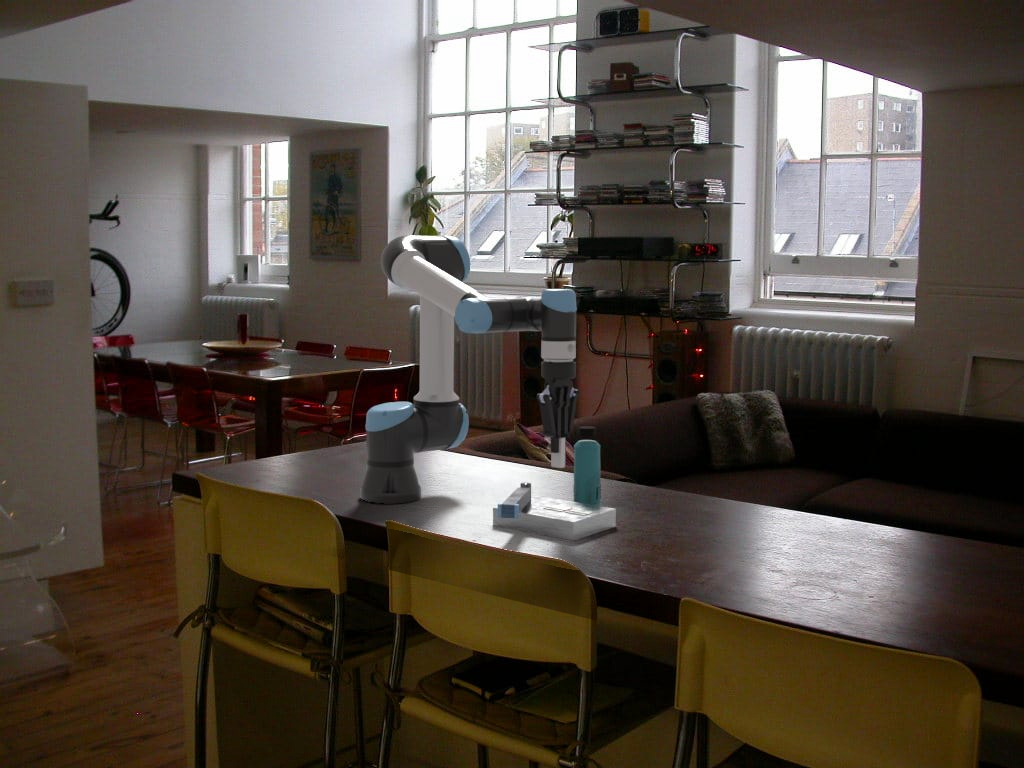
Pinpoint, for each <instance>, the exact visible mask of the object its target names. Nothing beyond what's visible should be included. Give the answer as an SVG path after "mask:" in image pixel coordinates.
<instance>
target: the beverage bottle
mask: <svg viewBox="0 0 1024 768" xmlns="http://www.w3.org/2000/svg"><path fill="white" fill-rule="evenodd" d="M596 432H597V430H596V426H588V425H587V426H585V425H583V426H579V427H578V434H577V436H578V437H583V438H592V437H597V436H596V435H597V433H596ZM573 448H574V449H573V450H574V451H573V459H574V460H573V501H572V502H578V503H584V504H590V505H596V506H601V502H602V500H601V499H602V495H601V494H602V490H601V489H602V485H601V482H602V480H601V476H602V475H601V469H602V467H601V444H600V443H599V442H598V441H597V440H592V439H581V440H578V441H577V442H575V444H574V445H573Z"/></svg>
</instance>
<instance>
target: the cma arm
mask: <svg viewBox="0 0 1024 768" xmlns="http://www.w3.org/2000/svg"><path fill="white" fill-rule="evenodd" d="M529 501H530V488H520V487H517V488H516V489H514V491H513V492H512V493H511V494H510V495H509V496H508V497H507V498H506V499H505V500H504V501H503V502H502V503H497V506H498V518H517V519H518V518H519V513H520V511H521V510H522V509H523V508H524V507H525V506H526V504H527V503H528V502H529Z"/></svg>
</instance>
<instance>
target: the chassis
mask: <svg viewBox="0 0 1024 768" xmlns="http://www.w3.org/2000/svg"><path fill="white" fill-rule="evenodd" d="M519 486H520V487H519V488H530V501H529V502H528V503H527V504H526V506H525V507H524V508H523V509H522V510H521V511H520V513H519V518H518V519H517V518H498V505H497V506H494V507H492V525H493V526H495V527H500V528H505V529H511V530H517V531H520V532H521V531H522V532H527V533H532V534H535V535H536V534H537V535H543V536H547V537H552V538H558V539H563V540H568V541H572V542H573V541H574V542H575V541H577V540H579V539H582V538H586V537H589V536H591V535H594V534H598V533H600V532H604V531H607V530H609V529H613V528H617V527H616V526H617V525H616V524H617V523H616V522H617V521H616V519H617V518H616V514H617V513H616V512H617V509H616V508H613V507H608V506H607V507H606V506H601V505H599V506H596V505H590V504H584V503H578V502H574V501H571V500H564V499H560V498H554V497H547V496H546V497H545V496H541V495H533V496H532V483H531V482H520V485H519Z"/></svg>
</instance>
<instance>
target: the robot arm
mask: <svg viewBox="0 0 1024 768" xmlns="http://www.w3.org/2000/svg"><path fill="white" fill-rule="evenodd" d="M380 266H381V269H382V272H383V274H384V276H385V277H386V278H387V279H388V280H389V281H390V282H391V283H393V284H394V285H395V286H397V287H399V288H401V289H406V290H407V289H408V290H409V289H410V290H411V291H414V292H415V293H417V295H418V296H419V391H418V393H417V394H416V395H414V396H413V403H412V402H410V401H394V402H391V401H390V402H384V403H381V404H377V405H373V406H372V407H370V408H369V409H368V411H367V412H366V420H365V436H366V439H365V441H366V469H365V473H364V477H363V481H362V486H361V485H360V486H361V487H360V489H359V499H360V498H361V499H363V500H365V501H364V502H366V501H369V502H368V503H370V502H375V503H374V504H380V503H384V504H385V505H388V504H389V505H391V504H404V503H411V502H414V501H418V500H420V499H421V498H422V488H421V487H422V486H421V485H420V484H419V479H418V475H417V473H416V469H415V462H414V461H415V459H414V458H415V454H417V453H419V454H420V453H426V452H433V451H434V452H435V451H446V450H448V449H449V450H450V449H453V448H454V449H455V448H456V447H459V446H460V445H461V444H462V442H463V441H464V440H466V436H467V434H468V431H469V426H470V424H469V423H470V422H469V421H470V419H469V414H468V413H467V409H466V407H465V406H464V405H463V404H462V403H460V397H459V395H457V393H456V392H455V391H454V369H455V368H454V366H455V365H454V363H455V361H454V360H455V359H454V358H455V357H454V354H455V352H454V351H455V350H454V349H455V348H454V347H455V323H456V325H457V326H458V329H459V330H460V331H461V332H463V333H465V334H475V335H480V334H488V333H489V334H490V333H507V332H541V340H540V341H541V348H540V350H541V351H540V357H541V358H542V360H543V361H542V362H541V364H540V365H541V368H540V369H541V372H540V373H541V378H543V379H544V380H545V382H544V385H543V386H544V387H543V390H542V392H541V393H537V394H536V399H537V402H538V405H539V409H540V415H541V424H542V430H543V435H544V436H545V437H546V438H550V454H551V455H550V458H551V461H550V465H551V468H558V469H563V468H565V467H566V449H567V438H571V435H572V433H573V430H574V422H575V416H576V410H577V409H576V408H577V402H578V398H579V395H580V394H581V393H580V389H576V388H574V384H573V380H574V378H576V377H577V376H576V374H577V373H576V372H577V370H576V369H577V363H576V362H575V360H574V359H576V357H577V356H576V353H577V352H576V351H577V349H576V346H577V345H576V344H577V341H576V340H577V310H578V306H577V296H576V292H575V291H574V290H573V289H571V288H565V289H564V288H545V289H543V290H542V292H541V297H534V296H527V295H526V296H525V295H524V296H515V297H488V296H487V295H484V294H483V293H480V292H479V291H478V290H476V289H475V288H473V287H471V286H469V285H467V284H465V283H464V281H465V280H467V279H468V276H469V275H470V272H471V257H470V254H469V252H468V249H467V246H465V244H464V242H463V241H462V240H461V239H459V238H458V237H456V236H449V235H441V234H440V235H411V234H409V235H408V234H406V235H405V234H404V235H401V236H400V235H399V236H397V237H395V238H394V239H392V240H390V242H388V243H387V244H386V246H385V247H384V249H383V251H382V253H381V257H380ZM361 499H360V500H361ZM363 500H362V501H363Z"/></svg>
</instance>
